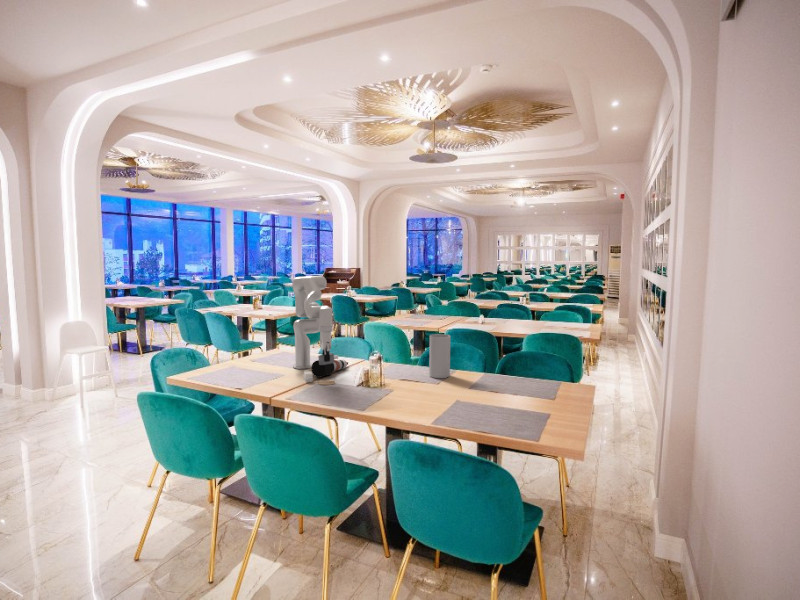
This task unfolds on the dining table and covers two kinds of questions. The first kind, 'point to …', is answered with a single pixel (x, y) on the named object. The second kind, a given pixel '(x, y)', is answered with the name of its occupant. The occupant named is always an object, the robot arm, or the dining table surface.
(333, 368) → the black capped bottle
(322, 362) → the grey plug
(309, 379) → the cream plug
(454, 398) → the dining table surface
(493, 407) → the dining table surface
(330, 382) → the cork coaster
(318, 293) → the robot arm
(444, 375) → the cylinder vase
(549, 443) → the dining table surface
